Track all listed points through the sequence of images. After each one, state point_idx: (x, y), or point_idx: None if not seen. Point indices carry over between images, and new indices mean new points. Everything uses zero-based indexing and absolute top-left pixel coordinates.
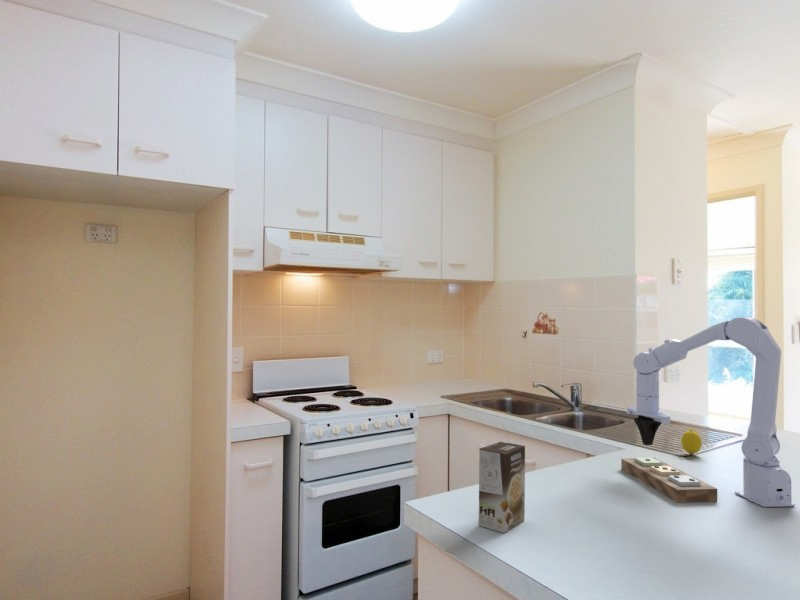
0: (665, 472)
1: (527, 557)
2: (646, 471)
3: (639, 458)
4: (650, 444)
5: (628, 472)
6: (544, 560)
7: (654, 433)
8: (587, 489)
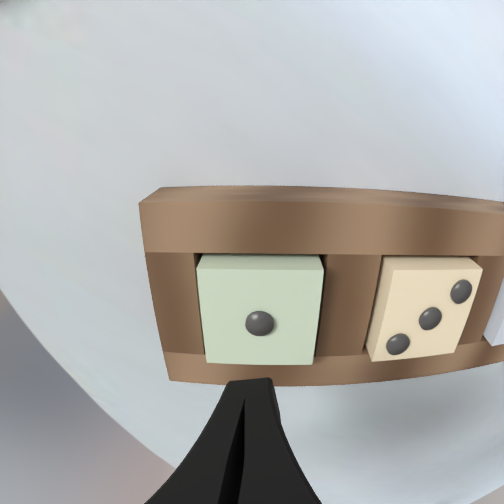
0: (459, 335)
1: (484, 491)
2: (385, 375)
3: (223, 347)
4: (273, 392)
5: None
6: (496, 483)
7: (295, 464)
8: (364, 468)
